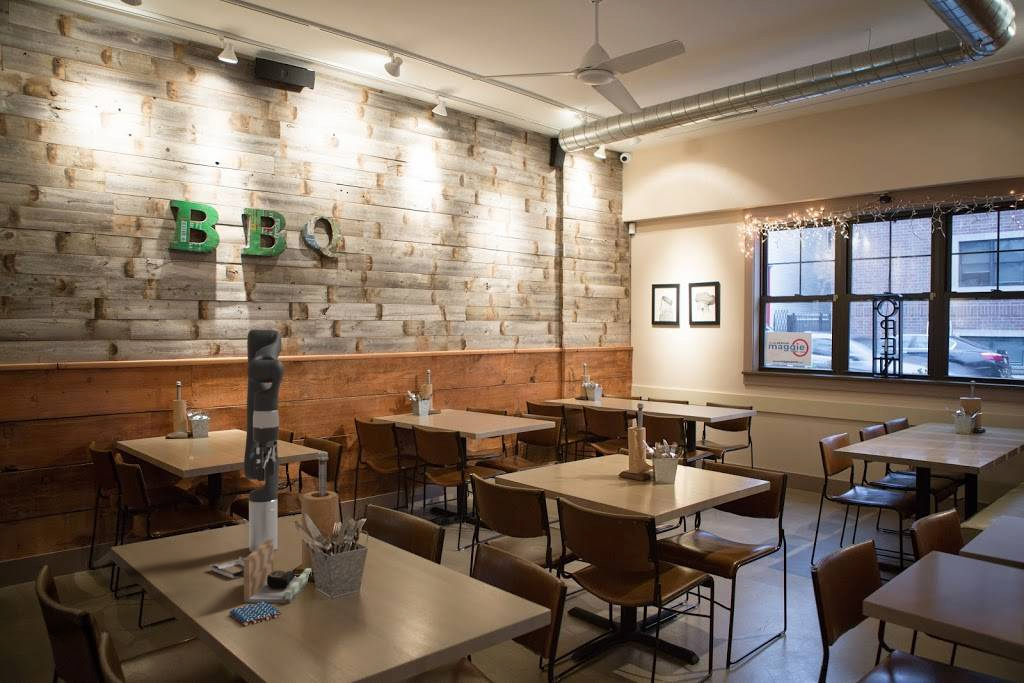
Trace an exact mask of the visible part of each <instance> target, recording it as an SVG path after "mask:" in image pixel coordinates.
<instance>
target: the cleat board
mask: <svg viewBox="0 0 1024 683" xmlns="http://www.w3.org/2000/svg"><path fill="white" fill-rule="evenodd" d="M274 551H275V550H274V539H268V540H266V541H265V542H264V543H263V544H262V545H260V546H259V547H258V548H257V549H256V550H254V551H253V552H250V553H249V555H247V556H246V557H245V558H243V559H244V566H243V570H244V576H243V603H244V604H245V603H246V604H247V603H250V604H251V603H253V604H257V603H260V602H265V601H266V603H269V604H291V603H292V602H293V601H294V600H295V599H296V597H297V596H298V595H299V594H300V593H301V591H302V590H303V589H304V588H305V587H306V586H307V584H308V583H309V582H308V578H309V574H310V572H311V573H312V568H311V567H307V568H305V569H304V570H303V571H302V573H300V574H299V575H300V576H299V577H296V576H295V577H294V578H293V580H292V581H291V582H290V583H289V584H288V586H287V587H282V588H271V587H269V586H268V584H267V576H268V575H269V573H271V572H274V571H275V568H274V566H275V564H274V563H275V562H274V561H275V558H274V557H275V556H274Z"/></svg>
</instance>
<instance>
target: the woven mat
mask: <svg viewBox="0 0 1024 683" xmlns="http://www.w3.org/2000/svg"><path fill="white" fill-rule="evenodd" d="M281 615H282V612H281V611H280V610H279V609H277V608H276V607H274V606H272V604H271V603H266V601H265V602H260V603H253V604H249V605H246V606H245V605H244V606H241V607H238V608H233V609H232V610H230V611H229V616H230V617H233V618H234V620H236V621H237V622H238V623H240V624H241V625H242V626H243V627H247V626H251V625H252V624H257V623H258V624H259V623H261V622H263V623H264V622H266V621H269V620H273V619H277V618H280V617H282V616H281Z"/></svg>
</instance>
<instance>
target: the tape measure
mask: <svg viewBox="0 0 1024 683" xmlns="http://www.w3.org/2000/svg"><path fill="white" fill-rule="evenodd" d="M294 575H296V574H294V572H293V571H291V570H289V571H286V570H274V572H271V573H269V575H268V576H267V584H268V586H269V587H271V588H282V587H287V586H288V584H289V583H290V582H291V581H292V580H293V578H294V577H295V576H294Z"/></svg>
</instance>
